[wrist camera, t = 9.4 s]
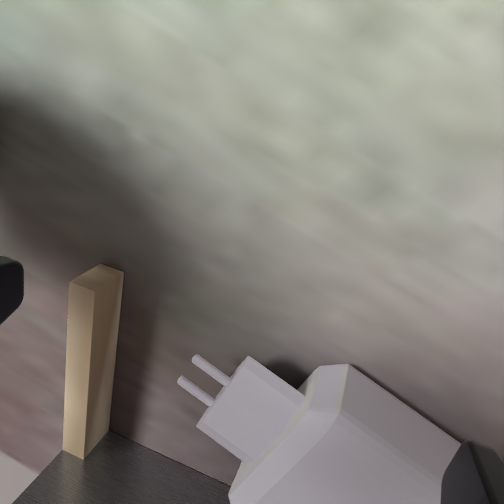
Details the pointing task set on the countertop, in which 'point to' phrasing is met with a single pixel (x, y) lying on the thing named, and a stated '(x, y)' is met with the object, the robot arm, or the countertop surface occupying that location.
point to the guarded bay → (106, 419)
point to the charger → (322, 438)
